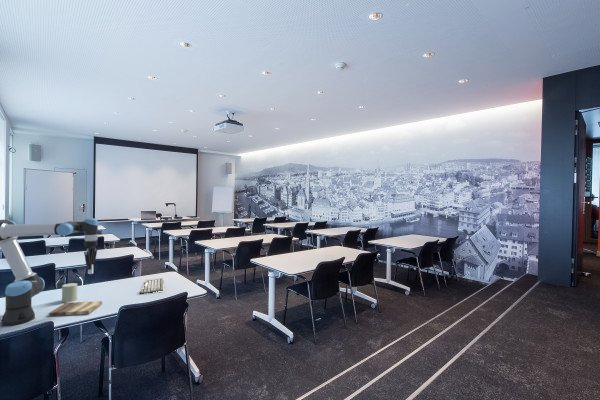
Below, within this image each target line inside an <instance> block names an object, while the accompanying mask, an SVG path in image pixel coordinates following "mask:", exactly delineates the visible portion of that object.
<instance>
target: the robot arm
mask: <svg viewBox="0 0 600 400" xmlns="http://www.w3.org/2000/svg"><path fill="white" fill-rule="evenodd" d="M98 228H99V222H98V219H97V218H94V217H93V218H85V219H84V221H71V220H70V221H64V222H63V223H62V222H59V223H58V222H57V223H23V224H22V223H20V224H17V223H16V222H15V221H13V220H10V219H0V250H1V252H2V254H3V256H4V257H5V259H6V262H7V263H8V265H9V266H8V267H10V268H9V269H10V270H11V272H12V274H13V276H14V277H15V280H14V281H13V282H11V283H9V284H8V285H6V288H5V291H4V294H5V310H4V313H3V316H2V318H1V320H0V325H1V326H3V327H4V326H6V327H7V326H8V327H9V326H18V325H22V324H25V323H28V322H30V321H33V320H34V319H36V313H35V311H34V309H33V306H32V298H34V297H35V296H37V295H38V294H40V293H41V292H42V291H43V290H44V288H45V286H46V285H45V284H46V283H45V280H44V279H43V278H42V277H41V276H39V275H38V273H37V272H34V271H33V270H32V268H31V266H30V264H29V262H28V260H27V258H26V256H25V253H24V252H23V249H22V247H21V246H20V243H19V241H18V238H19V237H38V236H69V235H71V234H75V233H84V238H83V239H84V247H86V248H85V249H86V251H84V252H83V254H84V260H85V265H86V266H87V274H88V275H92V274H93V275H94V265H95V264H96V260H97V254H98V248H96V247H97V246H98V239H99V238H98V237H99V236H98V234H99V233H98V230H99V229H98Z"/></svg>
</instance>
